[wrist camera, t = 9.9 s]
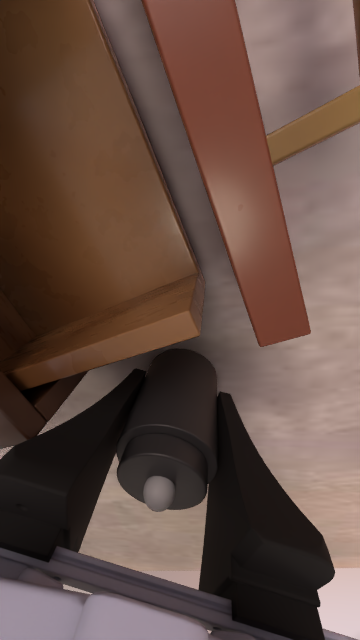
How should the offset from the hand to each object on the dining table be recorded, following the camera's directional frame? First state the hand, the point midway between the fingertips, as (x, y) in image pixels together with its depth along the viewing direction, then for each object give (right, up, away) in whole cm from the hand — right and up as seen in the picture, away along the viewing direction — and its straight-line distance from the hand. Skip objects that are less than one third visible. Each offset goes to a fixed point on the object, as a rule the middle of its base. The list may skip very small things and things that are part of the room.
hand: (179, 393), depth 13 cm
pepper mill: (0, +1, +1) cm, 1 cm away
